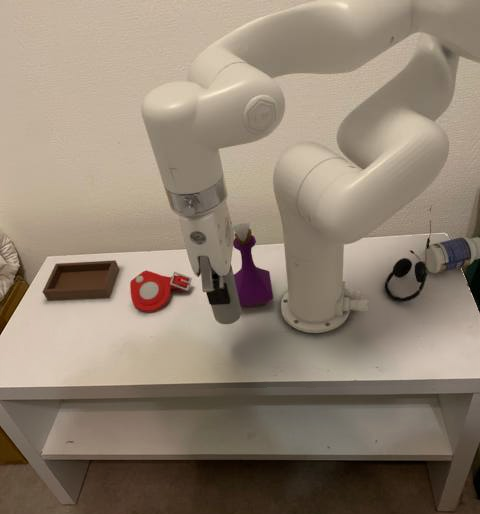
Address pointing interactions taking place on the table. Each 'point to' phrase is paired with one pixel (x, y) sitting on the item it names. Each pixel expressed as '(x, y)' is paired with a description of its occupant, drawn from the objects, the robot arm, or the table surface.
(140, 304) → the tracker holder
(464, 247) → the pill bottle
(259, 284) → the perfume bottle
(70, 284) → the shelf tray
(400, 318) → the table surface
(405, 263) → the headset
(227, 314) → the gray hollow tube
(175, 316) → the table surface
